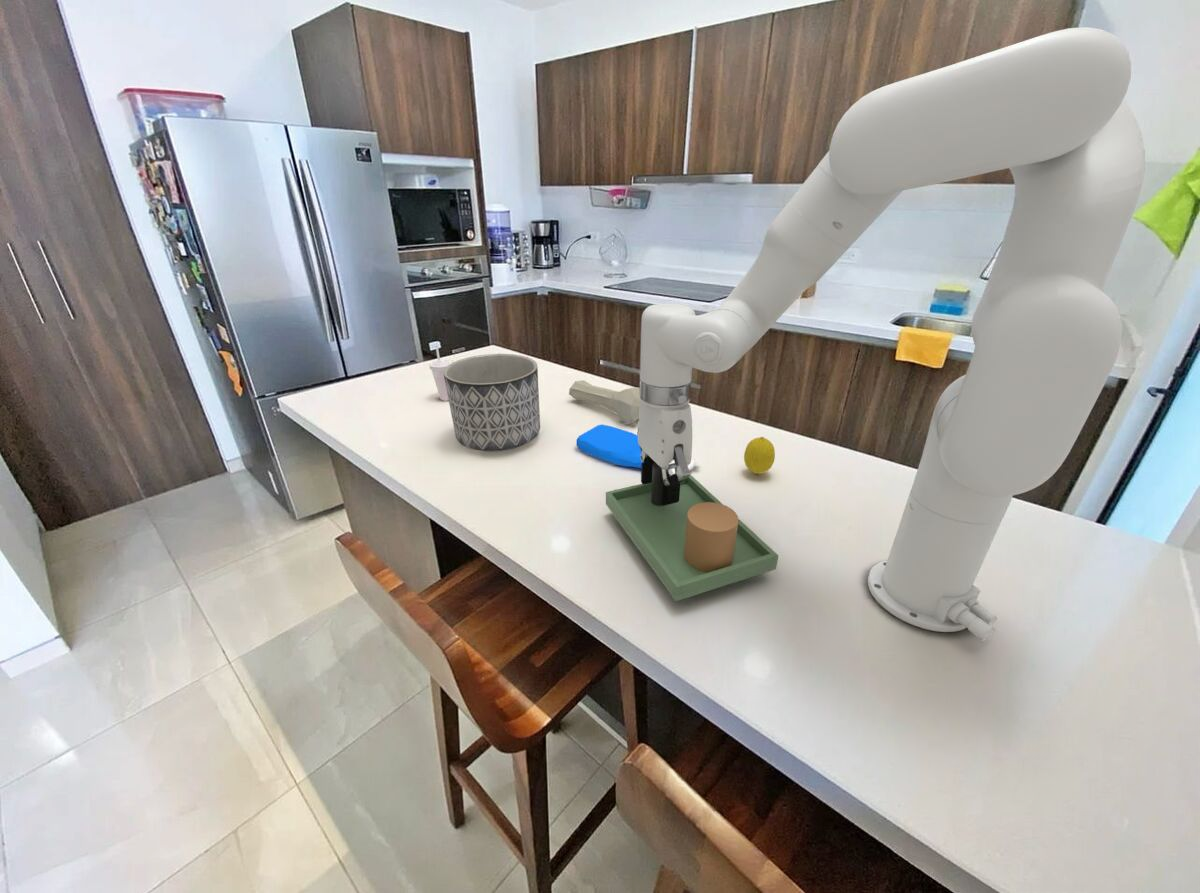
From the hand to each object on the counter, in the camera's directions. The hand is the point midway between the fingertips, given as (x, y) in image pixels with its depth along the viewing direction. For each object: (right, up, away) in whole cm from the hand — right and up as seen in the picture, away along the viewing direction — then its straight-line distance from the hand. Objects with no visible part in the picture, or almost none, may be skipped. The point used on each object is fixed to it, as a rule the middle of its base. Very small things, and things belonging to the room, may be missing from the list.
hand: (659, 491), depth 82 cm
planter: (-32, +9, +29) cm, 45 cm away
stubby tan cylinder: (+6, -8, -11) cm, 15 cm away
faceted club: (-8, +16, +42) cm, 46 cm away
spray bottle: (-3, +5, +20) cm, 21 cm away
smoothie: (-51, +20, +51) cm, 74 cm away
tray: (+3, -6, -5) cm, 9 cm away
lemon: (+20, +2, +14) cm, 25 cm away
